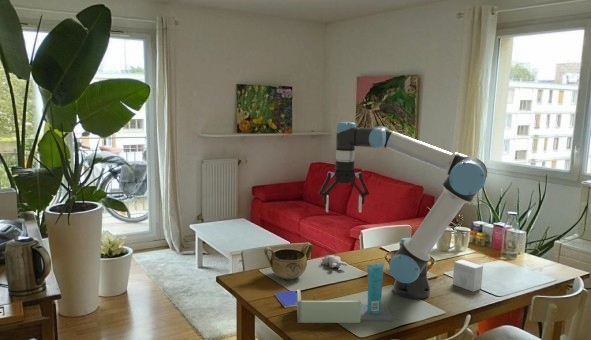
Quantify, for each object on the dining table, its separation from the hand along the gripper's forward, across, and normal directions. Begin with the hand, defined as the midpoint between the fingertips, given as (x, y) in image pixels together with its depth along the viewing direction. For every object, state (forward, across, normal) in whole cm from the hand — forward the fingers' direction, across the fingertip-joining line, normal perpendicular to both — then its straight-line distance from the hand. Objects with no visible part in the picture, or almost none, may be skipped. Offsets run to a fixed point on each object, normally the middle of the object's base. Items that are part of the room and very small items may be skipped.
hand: (343, 211), depth 194 cm
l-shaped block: (+35, +8, +22) cm, 42 cm away
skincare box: (+35, -56, -6) cm, 66 cm away
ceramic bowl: (+35, +22, -16) cm, 44 cm away
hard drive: (+36, +22, +8) cm, 43 cm away
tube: (+34, -10, +20) cm, 41 cm away
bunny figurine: (+35, 0, -30) cm, 46 cm away
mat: (+35, -10, +20) cm, 41 cm away
